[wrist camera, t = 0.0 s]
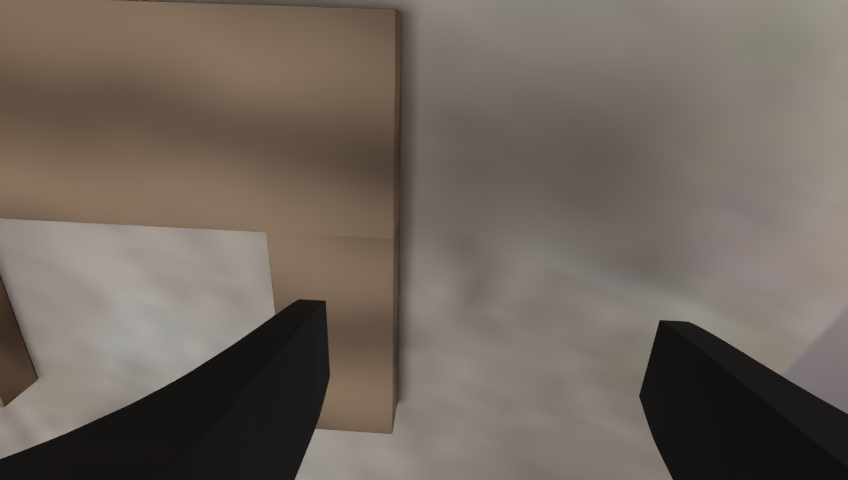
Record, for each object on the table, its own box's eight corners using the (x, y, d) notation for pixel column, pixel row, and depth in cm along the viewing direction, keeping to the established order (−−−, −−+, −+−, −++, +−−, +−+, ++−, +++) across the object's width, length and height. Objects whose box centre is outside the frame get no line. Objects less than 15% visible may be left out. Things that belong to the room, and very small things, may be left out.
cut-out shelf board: (396, 403, 24) (392, 434, 22) (-54, 373, 25) (-94, 400, 23) (401, 12, 17) (394, 9, 15) (-228, -9, 18) (-306, -14, 16)
